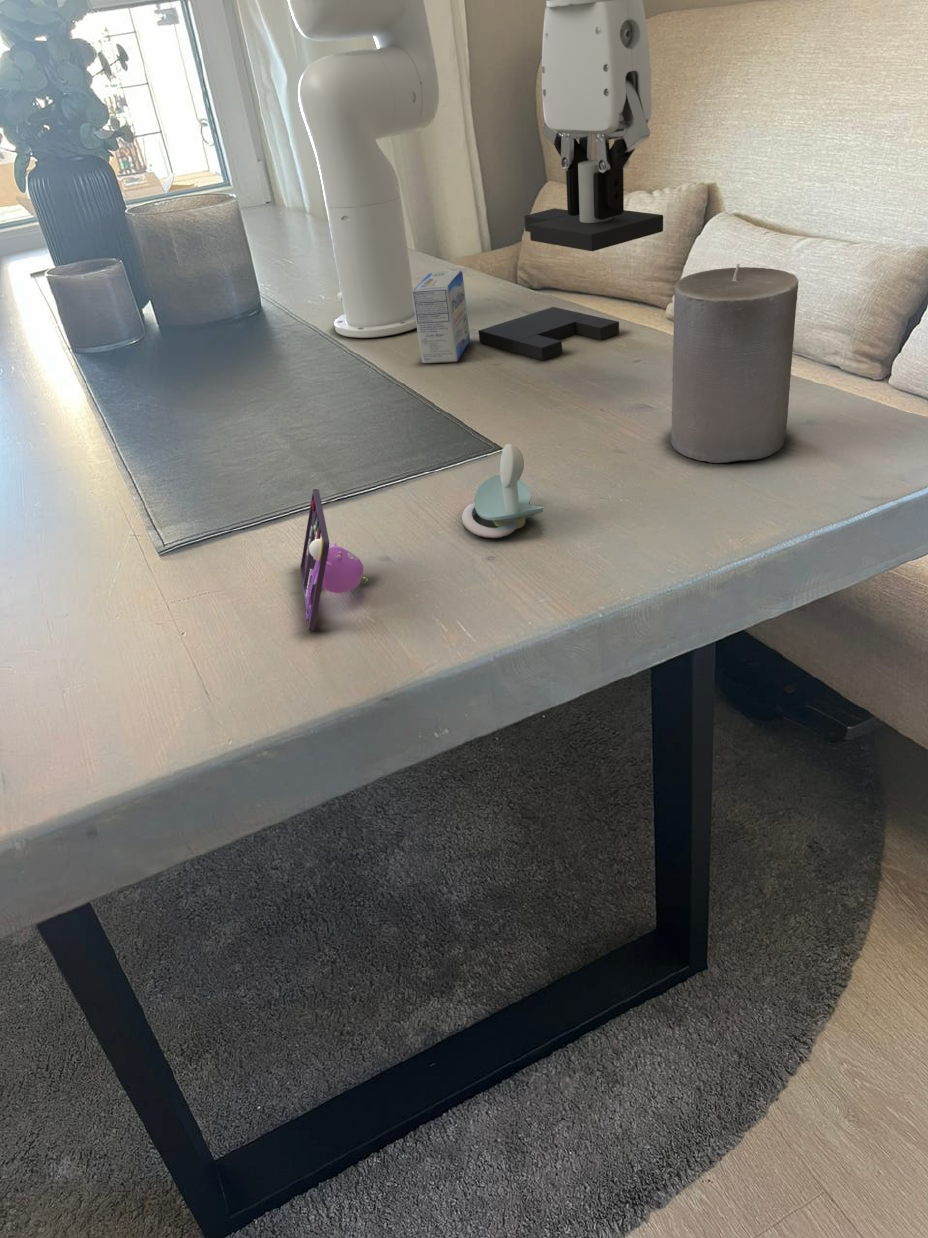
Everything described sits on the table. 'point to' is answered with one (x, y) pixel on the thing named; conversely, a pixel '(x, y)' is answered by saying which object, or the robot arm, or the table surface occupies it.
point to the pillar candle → (732, 362)
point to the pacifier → (502, 499)
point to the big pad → (546, 332)
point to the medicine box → (441, 317)
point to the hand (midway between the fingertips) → (595, 212)
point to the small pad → (589, 221)
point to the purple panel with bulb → (325, 563)
